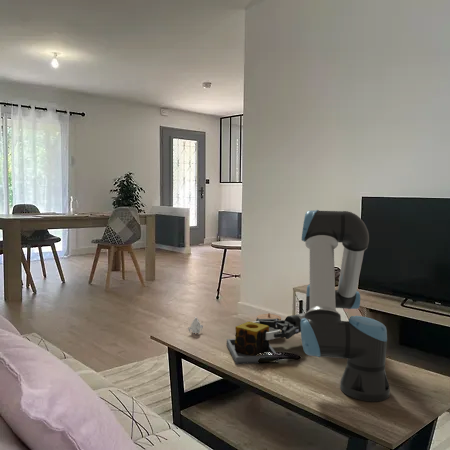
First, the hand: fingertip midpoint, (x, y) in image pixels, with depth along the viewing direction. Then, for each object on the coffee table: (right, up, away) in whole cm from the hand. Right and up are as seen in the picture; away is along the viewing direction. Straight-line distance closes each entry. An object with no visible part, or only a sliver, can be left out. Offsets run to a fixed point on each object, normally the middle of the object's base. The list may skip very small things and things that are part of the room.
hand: (255, 331), depth 174 cm
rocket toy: (-25, -6, +22) cm, 34 cm away
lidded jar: (+7, -7, +23) cm, 25 cm away
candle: (-2, -8, -1) cm, 8 cm away
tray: (-2, -8, -1) cm, 9 cm away
